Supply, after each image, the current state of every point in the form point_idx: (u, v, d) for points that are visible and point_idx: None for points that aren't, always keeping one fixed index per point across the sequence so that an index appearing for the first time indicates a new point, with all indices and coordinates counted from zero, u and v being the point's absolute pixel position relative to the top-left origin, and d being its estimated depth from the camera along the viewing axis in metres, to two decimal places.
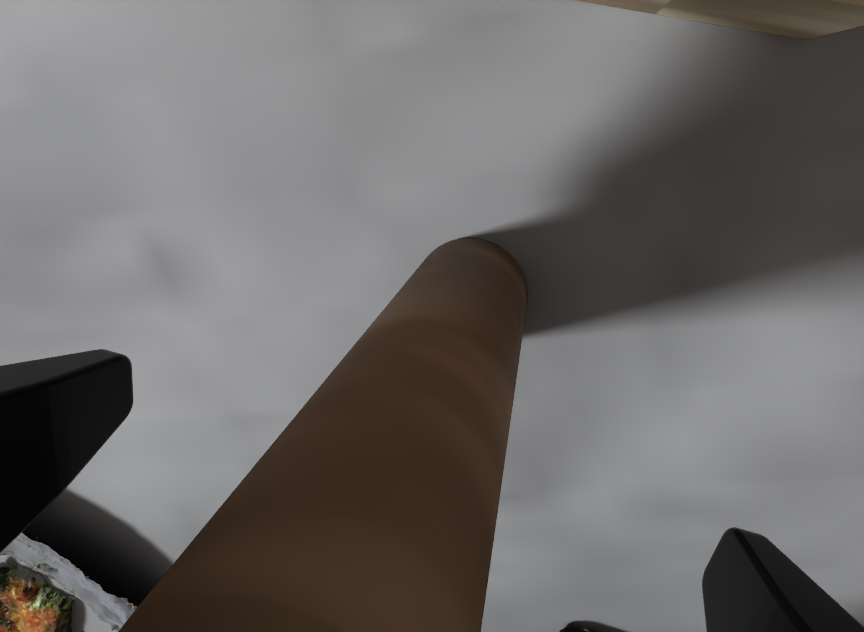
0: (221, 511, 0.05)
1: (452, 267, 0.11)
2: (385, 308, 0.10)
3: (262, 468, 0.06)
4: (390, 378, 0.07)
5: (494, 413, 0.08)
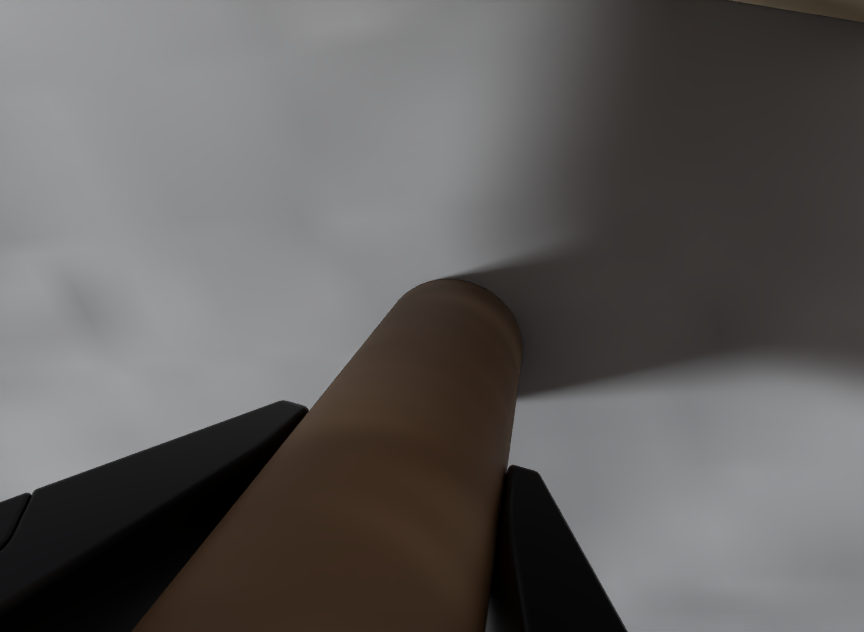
0: None
1: (420, 329, 0.09)
2: (324, 393, 0.07)
3: None
4: (279, 583, 0.04)
5: (461, 611, 0.05)
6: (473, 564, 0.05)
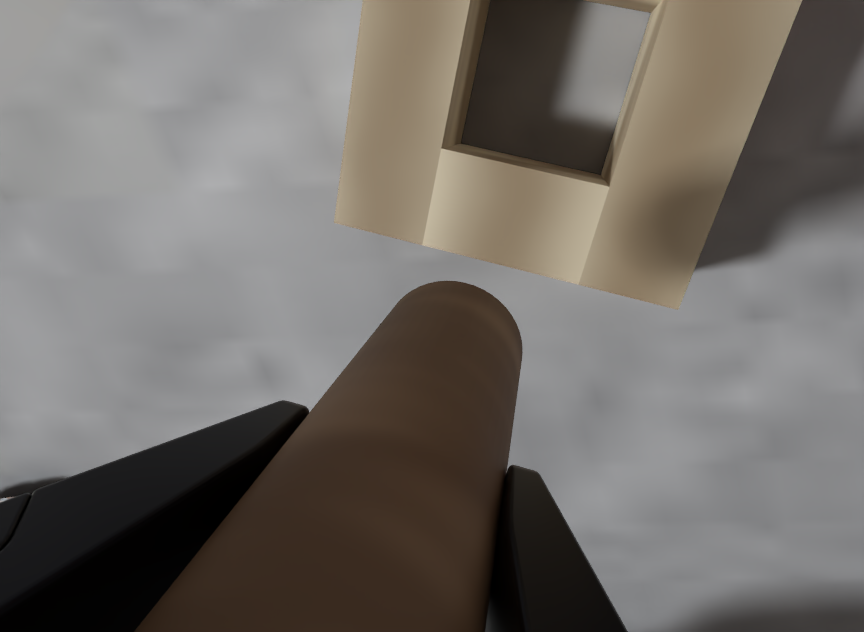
0: None
1: (420, 331, 0.09)
2: (324, 396, 0.07)
3: None
4: (277, 589, 0.04)
5: (460, 614, 0.05)
6: (472, 568, 0.05)
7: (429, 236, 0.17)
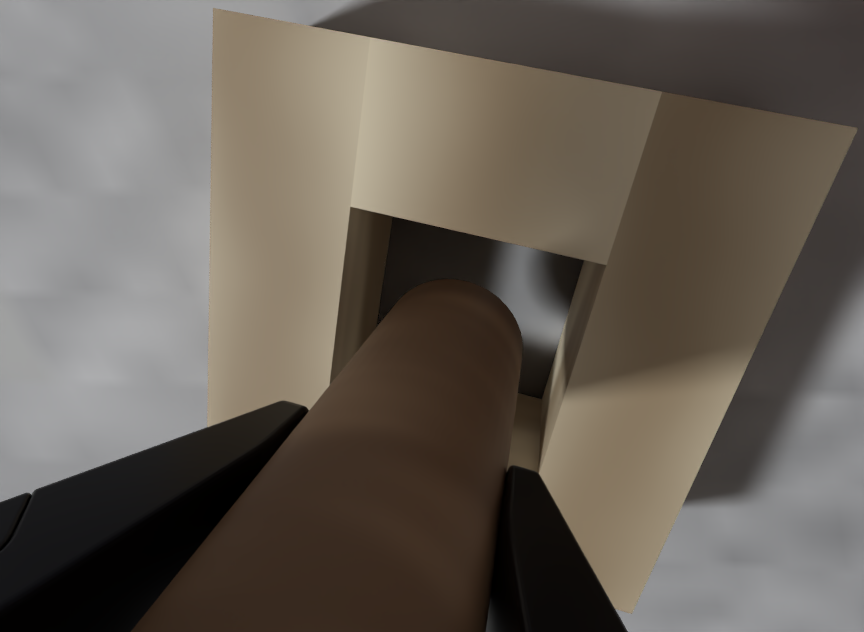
0: None
1: (420, 329, 0.09)
2: (324, 393, 0.07)
3: None
4: (277, 587, 0.04)
5: (462, 613, 0.05)
6: (473, 566, 0.05)
7: None
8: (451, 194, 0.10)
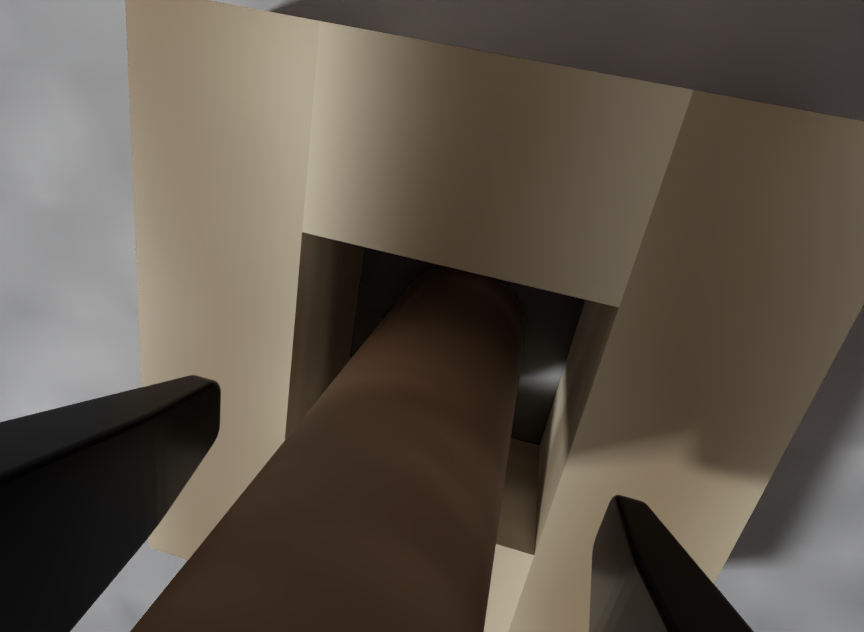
0: None
1: (432, 307, 0.09)
2: (348, 362, 0.08)
3: None
4: (328, 498, 0.05)
5: (475, 530, 0.06)
6: (484, 497, 0.06)
7: None
8: (425, 219, 0.08)
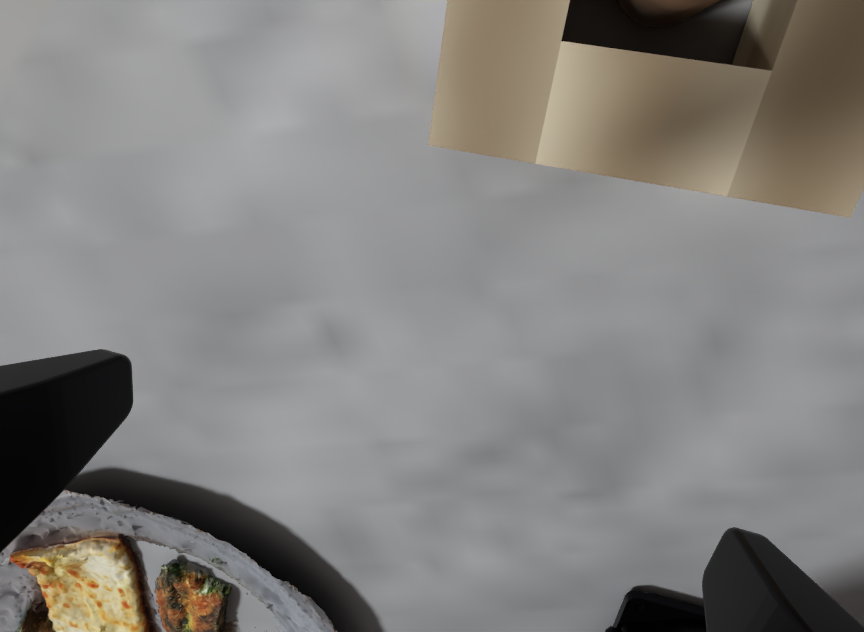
0: None
1: None
2: None
3: None
4: None
5: None
6: None
7: (544, 152, 0.15)
8: None
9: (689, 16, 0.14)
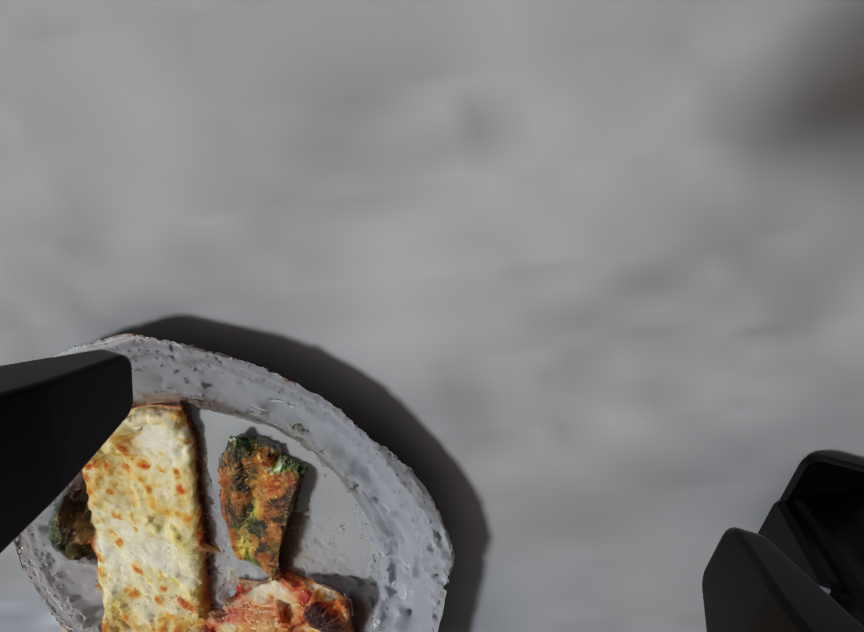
0: None
1: None
2: None
3: None
4: None
5: None
6: None
7: None
8: None
9: None
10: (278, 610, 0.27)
